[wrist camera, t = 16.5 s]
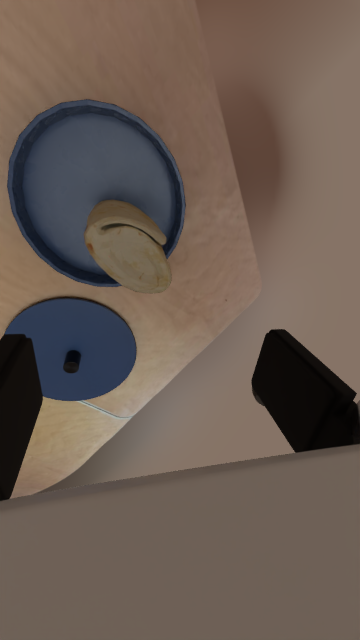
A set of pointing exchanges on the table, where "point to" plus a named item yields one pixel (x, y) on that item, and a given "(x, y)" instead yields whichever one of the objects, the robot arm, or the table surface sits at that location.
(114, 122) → the pot
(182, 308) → the table surface
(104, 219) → the food model
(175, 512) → the robot arm
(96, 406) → the table surface
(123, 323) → the pot lid
